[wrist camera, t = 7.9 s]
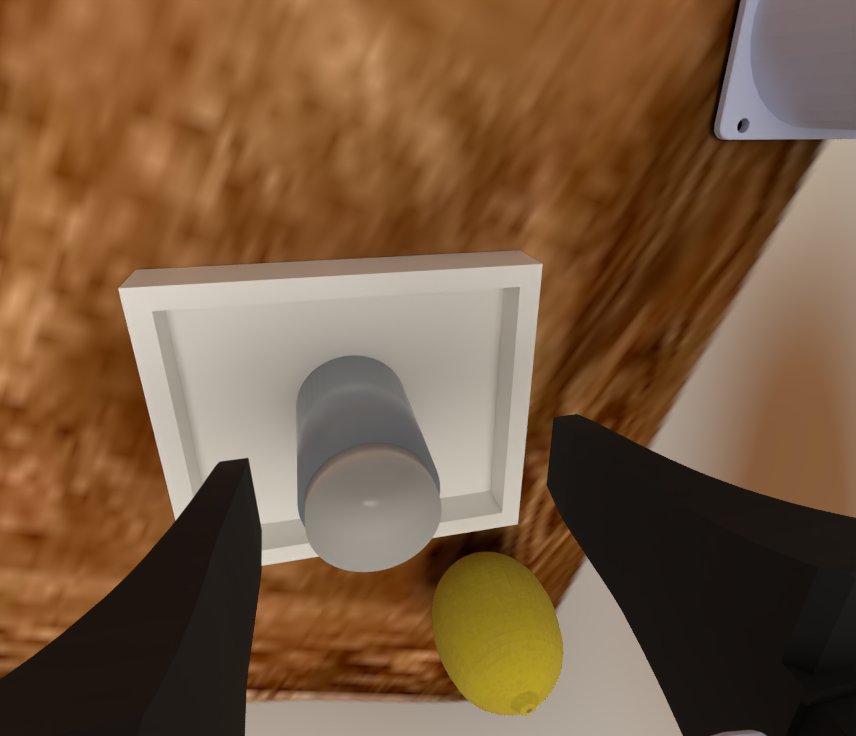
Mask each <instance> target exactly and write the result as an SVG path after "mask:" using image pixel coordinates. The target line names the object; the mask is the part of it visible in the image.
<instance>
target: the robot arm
mask: <svg viewBox="0 0 856 736" xmlns="http://www.w3.org/2000/svg"><path fill="white" fill-rule="evenodd" d="M740 120H741V121H742V126H741V128H740V130H739V131H738V130H737V125H738V123H739V121H740ZM714 132H715V135H716V136H717V137H718V138H719V139H723V140H773V139H856V0H741V1H740V6H739V11H738V16H737V20H736V25H735V30H734V35H733V40H732V44H731V49H730V54H729V59H728V63H727V68H726V73H725V78H724V83H723V87H722V92H721V97H720V102H719V106H718V111H717V116H716V121H715V125H714ZM547 487H548V489H549V491H550V493H551V496H552V498H553V500H554V502H555V504H556V506H557V509H558V511H559V513H560V515H561V517H562V519H563V520H564V522H565V524H566V525H567V527H568V528H569V530H570V531H571V533H572V535H573V536H574V538H575V539H576V541H577V542H578V544H579V545H580V547H581V548H582V550H583V551H584V553H585V554H586V556H587V557H588V559H589V560H590V562H591V563H592V565H593V566H594V568H595V569H596V571H597V572H598V574H599V575H600V577H601V578H602V580H603V581H604V583H605V584H606V586H607V587H608V589H609V590H610V592H611V593H612V595H613V597H614V598H615V600H616V602H617V603H618V605H619V607H620V608H621V610H622V612H623V613H624V615H625V617H626V619H627V621H628V623H629V625H630V627H631V629H632V631H633V633H634V635H635V636H636V638H637V640H638V642H639V644H640V646H641V648H642V650H643V652H644V654H645V656H646V658H647V660H648V662H649V664H650V666H651V668H652V670H653V672H654V674H655V676H656V678H657V680H658V682H659V685H660V687H661V688H662V690H663V693H664V695H665V697H666V699H667V702H668V704H669V706H670V708H671V710H672V712H673V715H674V717H675V719H676V721H677V723H678V726H679V728H680V730H681V732H682V734H683V736H856V518H853V517H849V516H844V515H840V514H835V513H831V512H826V511H822V510H817V509H813V508H809V507H805V506H801V505H797V504H793V503H790V502H786V501H783V500H779V499H776V498H772V497H769V496H766V495H762V494H759V493H756V492H753V491H750V490H746V489H743V488H740V487H738V486H735V485H732V484H729V483H727V482H724V481H721V480H718V479H716V478H713V477H710V476H708V475H705V474H703V473H700V472H698V471H695V470H693V469H691V468H688V467H686V466H684V465H682V464H679V463H677V462H675V461H673V460H670V459H668V458H666V457H664V456H662V455H659V454H658V453H655V452H653V451H651V450H649V449H647V448H645V447H643V446H641V445H639V444H637V443H635V442H633V441H631V440H629V439H627V438H625V437H623V436H621V435H619V434H617V433H616V432H614V431H612V430H610V429H608V428H606V427H604V426H602V425H600V424H598V423H596V422H594V421H591V420H589V419H587V418H585V417H582V416H580V415H577V414H575V415H567V416H560V417H554V420H553V430H552V439H551V449H550V459H549V468H548V478H547ZM261 569H262V528H261V523H260V518H259V512H258V507H257V501H256V496H255V491H254V485H253V480H252V475H251V469H250V464H249V458H243V459H235V460H228V461H220V462H219V463H218V464H217V465H216V466H215V467H214V469H213V470H212V472H211V473H210V474H209V476H208V477H207V479H206V480H205V482H204V483H203V485H202V486H201V487H200V489H199V490H198V492H197V493H196V494H195V496H194V497H193V498H192V500H191V501H190V503H189V504H188V505H187V507H186V508H185V509H184V510H183V512H182V513H181V514H180V516H179V517H178V518H177V520H176V521H175V522H174V523H173V525H172V526H171V527H170V528H169V530H168V531H167V532H166V533H165V534H164V536H163V537H162V538H161V539H160V540H159V541H158V543H157V544H156V545H155V546H154V547H153V548H152V550H151V551H150V552H149V553H148V554H147V555H146V556H145V558H144V559H143V560H142V561H141V562H140V563H139V564H138V565H137V566H136V567H135V568H134V569H133V570H132V571H131V573H130V574H129V575H128V576H127V577H126V578H125V579H123V580H122V581H121V582H120V583H119V584H118V585H117V586H116V587H115V588H114V589H113V590H112V591H111V592H110V593H109V594H108V595H107V596H106V597H105V598H103V599H102V600H101V601H100V602H99V603H98V604H96V605H95V606H94V607H93V608H92V609H91V610H89V611H88V612H87V613H86V614H85V615H84V616H82V617H81V618H80V619H79V620H78V621H76V622H75V623H74V624H73V625H72V626H71V627H69V628H68V629H67V630H66V631H65V632H64V633H62V634H61V635H60V636H59V637H57V638H56V639H55V640H53V641H52V642H51V643H50V644H48V645H47V646H46V647H44V648H43V649H42V650H40V651H39V652H38V653H36V654H35V655H34V656H33V657H31V658H30V659H28V660H27V661H26V662H24V663H23V664H21V665H20V666H19V667H17V668H16V669H15V670H13V671H12V672H10V673H9V674H8V675H6V676H5V677H3V678H2V679H0V736H245V713H246V689H247V679H248V668H249V661H250V654H251V646H252V639H253V632H254V624H255V617H256V610H257V602H258V595H259V587H260V579H261Z"/></svg>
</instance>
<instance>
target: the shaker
mask: <svg viewBox="0 0 856 736" xmlns="http://www.w3.org/2000/svg"><path fill="white" fill-rule="evenodd" d="M296 435H297V505H298V513H299V516H300V519H301V521H302V523H303V525H304V527H305V531H306V536H307V539H308V542H309V544H310V546H311V547H312V549H313V550H314V552H315V553H316V554H317V555H318V556H319V557H320V558H322V559H323V560H324V561H326V562H327V563H329V564H331V565H333V566H335V567H338V568H340V569H344V570H348V571H355V572H373V571H379V570H384V569H388V568H391V567H394V566H397V565H399V564H401V563H403V562H405V561H407V560H409V559H410V558H412V557H413V556H415V555H416V554H417V553H419V552H420V551H421V550H422V549H423V548H424V547H425V546H426V545H427V544H428V543H429V542H430V540H431V539H432V537H433V536H434V534H435V533H436V530H437V528H438V526H439V523H440V520H441V514H442V505H441V499H440V480H439V476H438V472H437V470H436V467H435V465H434V462H433V460H432V457H431V455H430V452H429V450H428V447H427V445H426V442H425V440H424V437H423V435H422V432H421V430H420V427H419V425H418V422H417V420H416V417H415V415H414V412H413V410H412V407H411V405H410V402H409V400H408V397H407V395H406V392H405V390H404V388H403V385H402V383H401V381H400V379H399V378H398V376H397V375H396V373H395V372H394V371H393V370H392V369H391V368H389V367H388V366H387V365H385V364H384V363H382V362H380V361H378V360H376V359H373V358H370V357H365V356H355V355H351V356H343V357H338V358H335V359H332V360H329V361H327V362H325V363H323V364H322V365H320V366H319V367H317V368H316V369H315V370H314V371H312V372H311V373H310V374H309V376H308V377H307V378H306V379H305V381H304V382H303V384H302V386H301V388H300V390H299V393H298V396H297V401H296Z"/></svg>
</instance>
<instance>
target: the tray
mask: <svg viewBox="0 0 856 736" xmlns="http://www.w3.org/2000/svg"><path fill="white" fill-rule="evenodd" d="M542 265H543V264H542V263H540V262H539V261H537V260H535V259H534V258H532V257H530V256H529V255H527V254H525V253H524V252H522V251H520V250H512V251H492V252H473V253H453V254H434V255H414V256H395V257H376V258H356V259H337V260H317V261H298V262H278V263H259V264H239V265H220V266H201V267H181V268H162V269H142V270H135V271H134V272H133V273H132V274H131V275H130V277H129V278H128V279H127V280H126V281H125V282H124V283H123V284H122V285H121V286H120V287H119V288H118V290H119V294H120V298H121V302H122V306H123V310H124V314H125V318H126V322H127V326H128V330H129V334H130V338H131V342H132V346H133V350H134V354H135V358H136V362H137V366H138V370H139V374H140V378H141V382H142V387H143V391H144V395H145V399H146V403H147V407H148V411H149V415H150V419H151V423H152V427H153V431H154V435H155V439H156V443H157V447H158V451H159V455H160V459H161V463H162V467H163V471H164V475H165V479H166V483H167V488H168V492H169V496H170V500H171V504H172V508H173V512H174V516H175V520H177V518H178V517H179V516H180V514H181V513H182V512H183V510H184V509H185V508H186V507H187V505H188V504H189V503H190V501H191V500H192V498H193V497H194V496H195V494H196V493H197V492H198V490H199V489H200V487H201V486H202V485H203V483H204V482H205V480H206V479H207V477H208V476H209V474H210V473H211V472H212V470H213V469H214V467H215V466H216V465H217V464H218V463H219V462H220V461H228V460H235V459H243V458H249V464H250V469H251V475H252V480H253V485H254V491H255V496H256V501H257V507H258V512H259V518H260V523H261V528H262V566H263V565H269V564H275V563H281V562H288V561H294V560H300V559H306V558H312V557H319V556H318V555H317V554H316V553H315V552H314V550H313V549H312V547H311V546H310V544H309V542H308V539H307V536H306V531H305V527H304V525H303V523H302V521H301V519H300V516H299V513H298V505H297V435H296V401H297V396H298V393H299V390H300V388H301V386H302V384H303V382H304V381H305V379H306V378H307V377H308V376H309V374H310V373H311V372H312V371H314V370H315V369H316V368H317V367H319V366H320V365H322V364H323V363H325V362H327V361H329V360H332V359H335V358H338V357H343V356H351V355H355V356H365V357H370V358H373V359H376V360H378V361H380V362H382V363H384V364H385V365H387V366H388V367H389V368H391V369H392V370H393V371H394V372H395V373H396V375H397V376H398V378H399V379H400V381H401V383H402V385H403V388H404V390H405V392H406V395H407V397H408V400H409V402H410V405H411V407H412V410H413V412H414V415H415V417H416V420H417V422H418V425H419V427H420V430H421V432H422V435H423V437H424V440H425V442H426V445H427V447H428V450H429V452H430V455H431V457H432V460H433V462H434V465H435V467H436V470H437V472H438V476H439V480H440V499H441V505H442V514H441V520H440V523H439V526H438V528H437V530H436V533H435V534H434V536H433V537H432V538H436V537H442V536H449V535H455V534H461V533H467V532H473V531H480V530H486V529H492V528H498V527H504V526H511V525H517V524H518V516H519V506H520V495H521V485H522V475H523V464H524V454H525V443H526V433H527V422H528V412H529V401H530V391H531V380H532V370H533V360H534V349H535V339H536V328H537V318H538V307H539V297H540V286H541V276H542Z"/></svg>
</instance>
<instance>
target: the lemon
mask: <svg viewBox="0 0 856 736" xmlns="http://www.w3.org/2000/svg"><path fill="white" fill-rule="evenodd" d="M431 620H432V629H433V634H434V639H435V643H436V647H437V650H438V653H439V656H440V659H441V661H442V663H443V665H444V667H445V669H446V671H447V673H448V674H449V676H450V678H451V679H452V681H453V682H454V684H455V685H456V686H457V688H458V689H459V691H460V692H461V693H462V694H463V696H464V697H465V698H466V699H468V700H469V701H470V702H471V703H473V704H474V705H476V706H477V707H479V708H481V709H483V710H485V711H488V712H491V713H495V714H498V715H517V714H521V715H529V714H531V713H533V712H534V711H535V710H536V707H537V706H538V705H540V704H541V703H542V702H543V701H544V700H545V699H546V698H547V697H548V695H549V694H550V693H551V691H552V690H553V688H554V686H555V684H556V682H557V680H558V678H559V675H560V672H561V668H562V659H563V642H562V636H561V632H560V628H559V624H558V620H557V616H556V613H555V610H554V607H553V605H552V602H551V600H550V598H549V596H548V595H547V593H546V591H545V590H544V588H543V587H542V585H541V584H540V583H539V581H538V580H537V578H536V577H535V576H534V575H533V573H532V572H531V571H530V570H529V569H528V568H527V567H525V566H524V565H523V564H521V563H520V562H518V561H517V560H515V559H514V558H512V557H510V556H507V555H504V554H500V553H497V552H477V553H473V554H470V555H467V556H465V557H463V558H461V559H459V560H457V561H456V562H455V563H454V564H453V565H451V566H450V567H449V568H448V569H447V571H446V572H445V573H444V575H443V576H442V577H441V579H440V581H439V583H438V585H437V588H436V590H435V593H434V597H433V604H432V613H431Z"/></svg>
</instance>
